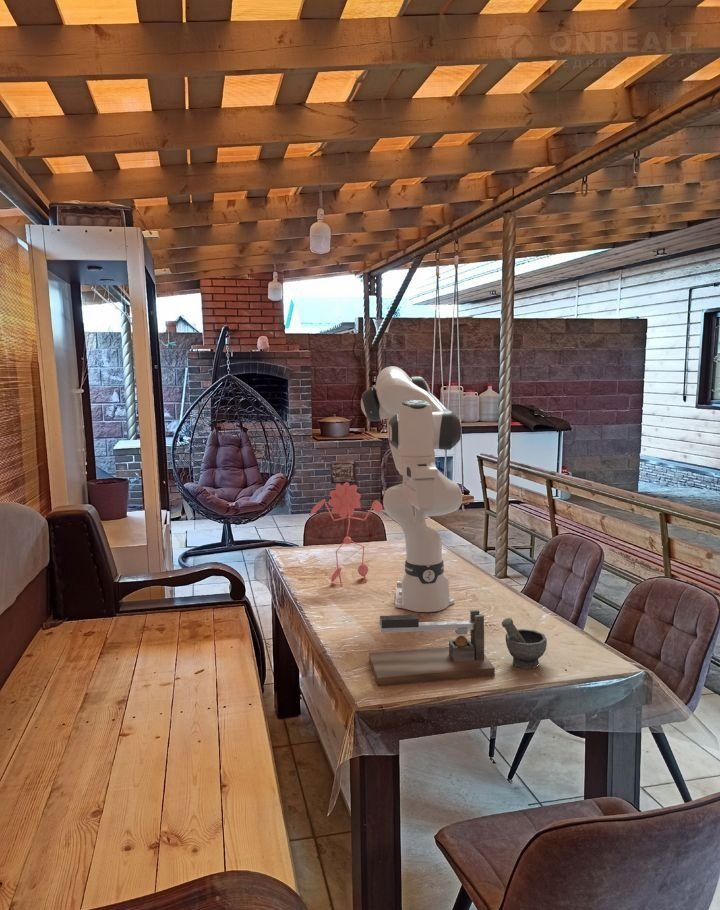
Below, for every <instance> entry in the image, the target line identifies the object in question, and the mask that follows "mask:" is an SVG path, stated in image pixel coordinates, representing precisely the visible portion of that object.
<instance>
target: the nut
mask: <svg viewBox="0 0 720 910" xmlns="http://www.w3.org/2000/svg"><path fill="white" fill-rule="evenodd" d="M467 639H468V638H467V637H466V636H464V635H458V636H457V637H456V638H455V639H454V640H455V643H456V645H457V647H466V646H467V644H468V641H467Z"/></svg>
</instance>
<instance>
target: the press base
mask: <svg viewBox="0 0 720 910" xmlns="http://www.w3.org/2000/svg"><path fill="white" fill-rule="evenodd" d="M469 612H470V613H469V614H470V615H469V616H470V617H469V619H470V620H469V621H475V630H469V631H470V639H469V638H467V641H468V644H467V646H466V647H457V645H456V643H455V640H456V639H454V640H453V639H452V640H448V646H439V647H430V648H417V649H404V650H391V651H378V652H377V651H376V652H369V653H368V660H369V664H370V667H371V669H372V673H373V676H374V678H375V683H376V685H377V687H382V686H384V687H385V686H396V685H404V684H405V685H406V684H417V683H418V684H419V683H429V682H441V681H451V680H463V679H471V678H472V679H473V678H485V677H495V675H496V672H495V671H496V669H495V666H494V665H493V663H492V662H491V661H490V660H489V659H488V657H487V655H486V654H485V615H483V614H480V610H479V609H471V610H470V611H469Z"/></svg>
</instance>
